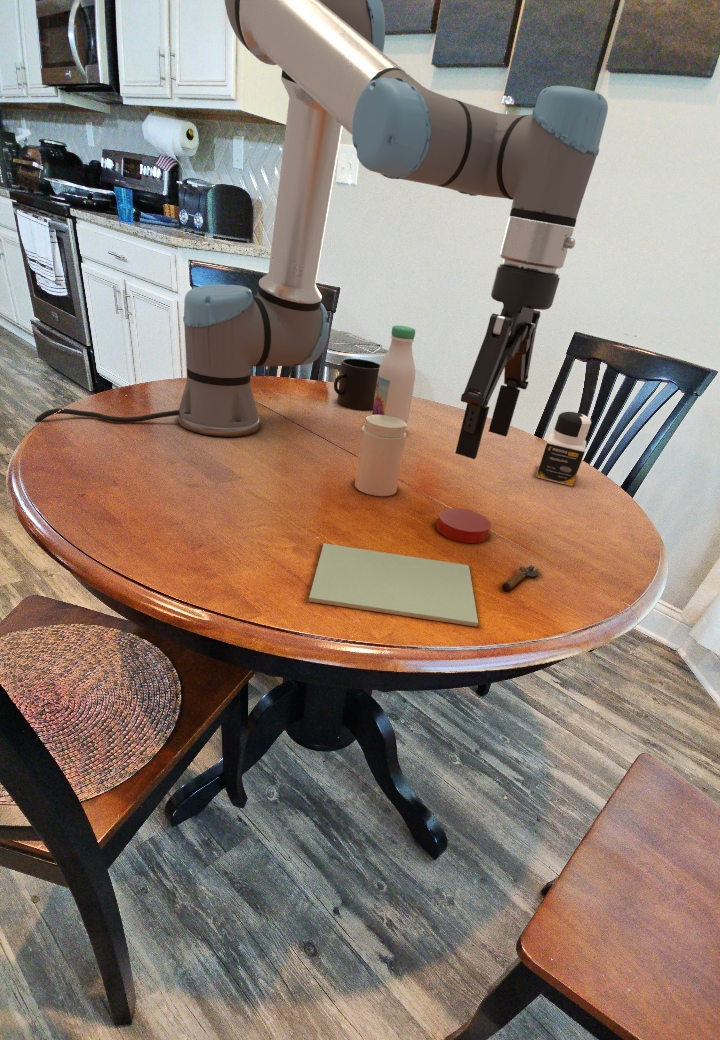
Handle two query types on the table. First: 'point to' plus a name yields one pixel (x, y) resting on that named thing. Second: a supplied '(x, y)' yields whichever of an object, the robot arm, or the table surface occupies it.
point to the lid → (463, 525)
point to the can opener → (520, 577)
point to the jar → (380, 455)
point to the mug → (357, 383)
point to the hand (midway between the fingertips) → (482, 444)
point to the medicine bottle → (565, 449)
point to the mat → (394, 585)
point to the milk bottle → (396, 376)
